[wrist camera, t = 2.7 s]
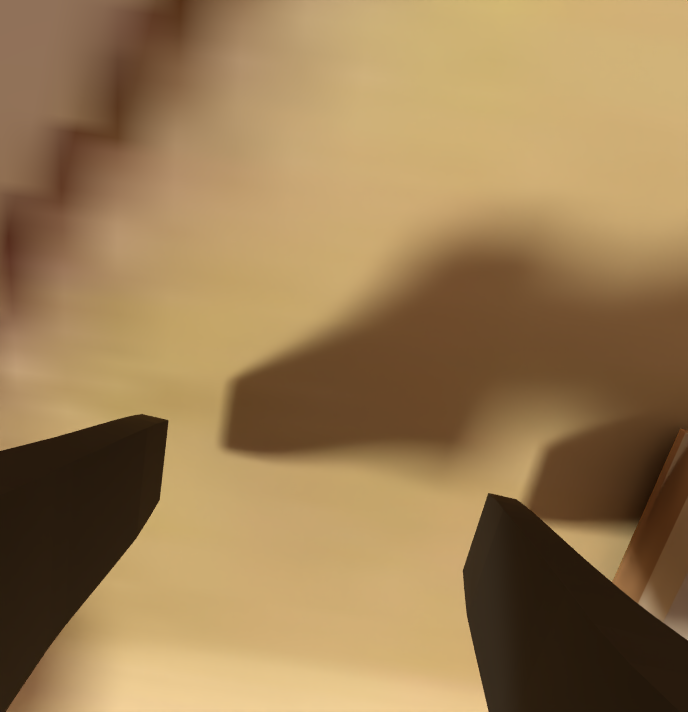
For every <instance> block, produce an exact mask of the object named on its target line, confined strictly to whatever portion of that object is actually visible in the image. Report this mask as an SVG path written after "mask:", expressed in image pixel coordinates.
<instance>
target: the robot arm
mask: <svg viewBox="0 0 688 712" xmlns="http://www.w3.org/2000/svg"><path fill="white" fill-rule="evenodd" d="M167 429H168V420H165V419H161V418H157V417H152V416H148V415H143V414H140V415H134V416H129V417H125V418H121V419H117V420H114V421H110V422H107V423H103V424H100V425H96V426H93V427H89V428H86V429H82V430H79V431H75V432H72V433H68V434H65V435H61V436H58V437H54V438H50V439H46V440H42V441H38V442H34V443H30V444H27V445H23V446H19V447H15V448H11V449H7V450H3V451H0V712H6V710H7V709H8V707H9V706H10V704H11V702H12V701H13V699H14V698H15V696H16V695H17V694H18V692H19V691H20V689H21V688H22V686H23V685H24V683H25V682H26V680H27V679H28V677H29V676H30V674H31V673H32V671H33V670H34V668H35V667H36V665H37V664H38V662H39V661H40V659H41V658H42V656H43V655H44V653H45V652H46V651H47V649H48V648H49V646H50V645H51V644H52V642H53V641H54V640H55V638H56V637H57V636H58V634H59V633H60V632H61V630H62V629H63V628H64V627H65V625H66V624H67V623H68V622H69V620H70V619H71V618H72V617H73V615H74V614H75V613H76V612H77V611H78V609H79V608H80V607H81V606H82V604H83V603H84V602H85V601H86V600H87V598H88V597H89V596H90V595H91V593H92V592H93V591H94V590H95V589H96V587H97V586H98V585H99V584H100V582H101V581H102V580H103V579H104V578H105V576H106V575H107V574H108V573H109V571H110V570H111V569H112V568H113V567H114V565H115V564H116V563H117V562H118V560H119V559H120V558H121V557H122V555H123V554H124V553H125V552H126V550H127V549H128V548H129V547H130V545H131V544H132V543H133V542H134V540H135V539H136V538H137V536H138V535H139V533H140V531H141V530H142V528H143V527H144V525H145V524H146V522H147V520H148V519H149V517H150V515H151V514H152V512H153V510H154V509H155V507H156V505H157V503H158V502H159V500H160V492H161V483H162V474H163V465H164V456H165V447H166V438H167ZM463 578H464V591H465V601H466V611H467V618H468V622H469V627H470V632H471V636H472V641H473V645H474V650H475V654H476V659H477V663H478V667H479V672H480V676H481V680H482V685H483V689H484V693H485V698H486V702H487V706H488V711H489V712H688V640H687V639H685V638H684V637H682V636H681V635H680V634H678V633H677V632H676V631H674V630H673V629H671V628H670V627H669V626H667V625H666V624H665V623H663V622H662V621H660V620H659V619H658V618H656V617H655V616H653V615H652V614H651V613H650V612H648V611H647V610H646V609H644V608H643V607H642V606H640V605H639V604H638V603H637V602H635V601H634V600H633V599H632V598H630V597H629V596H628V595H627V594H626V593H624V592H623V591H622V590H621V589H619V588H618V587H617V586H616V585H615V584H613V583H612V582H611V581H610V580H608V579H607V578H606V577H605V576H604V575H603V574H601V573H600V572H599V571H598V570H597V569H596V568H594V567H593V566H592V565H591V564H590V563H589V562H587V561H586V560H585V559H584V558H583V557H582V556H581V555H580V554H578V553H577V552H576V551H575V550H574V549H573V548H572V547H571V546H570V545H568V544H567V543H566V542H565V541H564V540H563V539H562V538H561V537H560V536H559V535H557V534H556V533H555V532H554V531H553V530H552V529H551V528H550V527H549V526H548V525H546V524H545V523H544V522H543V521H542V520H541V519H540V518H539V517H538V516H536V515H535V514H534V513H533V512H532V511H531V510H529V509H528V508H527V507H526V506H525V505H523V504H522V503H521V502H519V501H518V500H516V499H512V498H508V497H504V496H499V495H495V494H490V493H488V496H487V499H486V502H485V505H484V508H483V511H482V514H481V517H480V520H479V523H478V526H477V529H476V532H475V535H474V538H473V541H472V544H471V547H470V550H469V553H468V557H467V560H466V563H465V566H464V569H463Z"/></svg>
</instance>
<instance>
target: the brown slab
mask: <svg viewBox="0 0 688 712" xmlns="http://www.w3.org/2000/svg"><path fill="white" fill-rule="evenodd" d="M612 583H613V584H615V585H616V586H617V587H618V588H619V589H621V590H622V591H623V592H624V593H626V594H627V595H628V596H629V597H630V598H632V599H633V600H634V601H635V602H637V603H638V604H639V605H640V606H642V607H643V608H644V609H646V610H647V611H648V612H650V613H651V614H652V615H653V616H655V617H656V618H658V619H659V620H660V621H662V622H663V623H665V624H666V625H667V626H669V627H670V628H671V629H673V630H674V631H676V632H677V633H678V634H680V635H681V636H682V637H684V638H685V639H687V640H688V430H684V429H680V430H679V432H678V434H677V437H676V439H675V441H674V443H673V446H672V448H671V450H670V453H669V455H668V457H667V459H666V462H665V464H664V466H663V468H662V471H661V473H660V475H659V478H658V480H657V482H656V484H655V487H654V489H653V491H652V493H651V496H650V498H649V500H648V502H647V505H646V507H645V509H644V512H643V514H642V516H641V518H640V521H639V523H638V525H637V527H636V530H635V532H634V534H633V536H632V539H631V541H630V543H629V546H628V548H627V550H626V552H625V555H624V557H623V559H622V561H621V564H620V566H619V568H618V570H617V573H616V575H615V577H614V580H613V582H612Z"/></svg>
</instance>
